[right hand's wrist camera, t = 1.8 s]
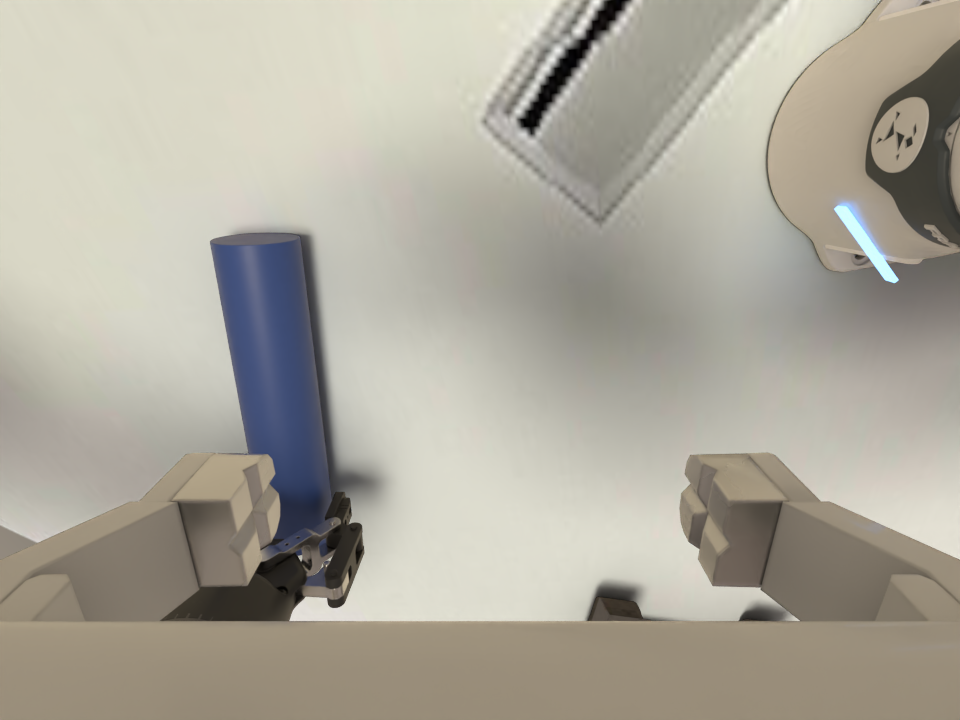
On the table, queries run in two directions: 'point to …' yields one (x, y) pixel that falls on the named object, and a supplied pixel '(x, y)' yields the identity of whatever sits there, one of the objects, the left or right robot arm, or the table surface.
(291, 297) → the cylinder
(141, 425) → the table surface
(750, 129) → the table surface
